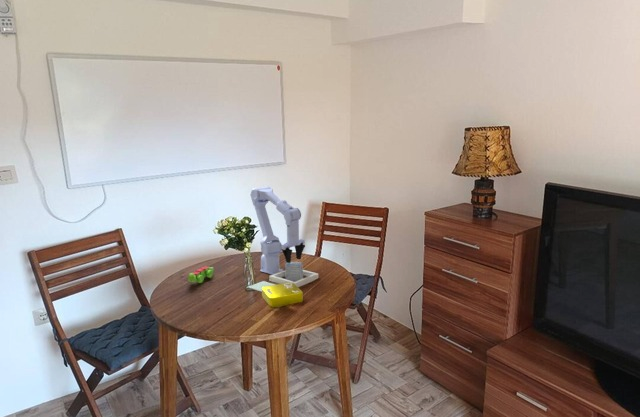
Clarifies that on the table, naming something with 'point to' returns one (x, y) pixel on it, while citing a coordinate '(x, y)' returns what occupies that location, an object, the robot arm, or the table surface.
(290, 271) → the medicine box
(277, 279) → the white square frame
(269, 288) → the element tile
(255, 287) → the mat
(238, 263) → the table surface
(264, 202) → the robot arm
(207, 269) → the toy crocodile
